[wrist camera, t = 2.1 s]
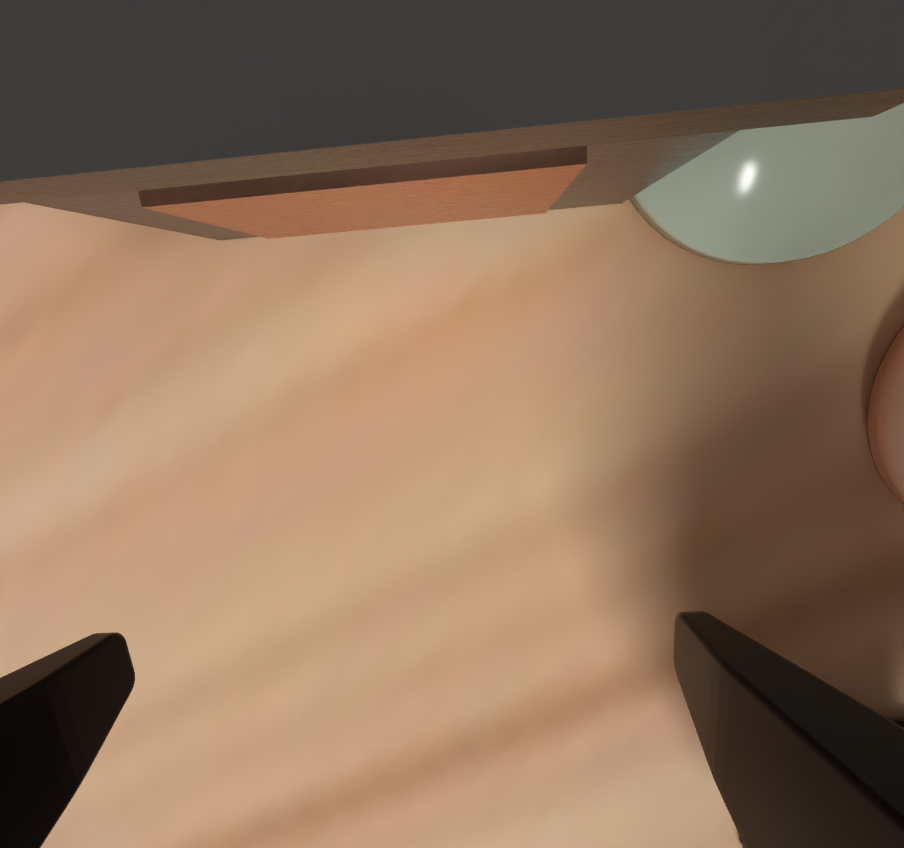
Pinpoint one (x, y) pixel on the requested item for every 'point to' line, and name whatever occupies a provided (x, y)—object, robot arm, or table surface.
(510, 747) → the table surface
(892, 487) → the peach domed disc
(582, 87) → the box unit
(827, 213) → the sage coaster
